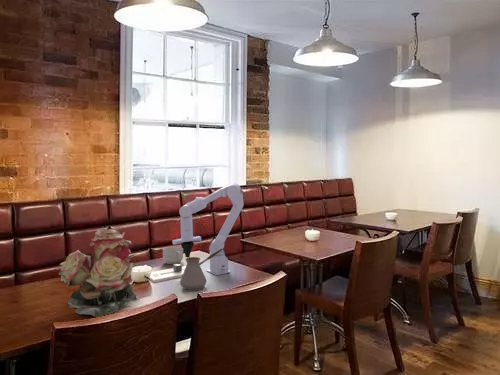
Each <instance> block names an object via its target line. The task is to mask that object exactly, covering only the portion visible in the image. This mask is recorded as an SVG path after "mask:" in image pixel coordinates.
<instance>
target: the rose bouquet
mask: <svg viewBox="0 0 500 375" xmlns="http://www.w3.org/2000/svg"><path fill="white" fill-rule="evenodd" d="M94 234H95V235H94V238H91V241H90V243H89V247H90V249H91V250H92V254H91V255H86V254H85V253H82V252H81V251H80V250H79V249H77V250H76V251H74V252H71V253H69V254H68V256H66V258H65V261H63V262H61V263H59V266H61V267H60V271H59V272H58V276H60V281H61V284H64V285H66V289H67V288H72V287H74V286H75V287H76V286H79V287H78V288H77V290H75V291H73V293H72V294H71V295H70V297H69V300H68V302H67V305H68V306H69V307H71V308H75V309H76V310H75V311H74V313H75V314H78V315H91V316H92V317H94V318H96V317H98V316H102V315H106V314H110V315H111V313H112V314H113V312H114V313H115V312H117V311H119V310H123V309H125V308H131V307H132V305H131V304H132V303H133V304H134V303H137V301H138V299H137V295H136V294H135V293H134V292H133V288H132V286H133V284H132V282H133V278H132V271H133V266H134V261H133V260H132V259H131V258H133V257H134V256H136V254H132V252H131V249H129V248H130V246H129V245H132V244H133V242H132V241H131V240H127V239H124V236H125V235H126V232H125V231H123V232H122V234H121V233H120V231H118V230H116V229H114V228H113V229H112V228H108V229H106V228H104V226H102V227H101V228H98V230H97V231H96V232H94ZM130 254H131V255H130Z"/></svg>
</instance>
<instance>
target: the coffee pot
mask: <svg viewBox="0 0 500 375" xmlns="http://www.w3.org/2000/svg"><path fill="white" fill-rule="evenodd" d="M222 250H223V251H224V252H225V250H224V249H220V250H219V251H217V252H215V253H213V254H212V255H210V254H209V256H208V257H206V258H205V259H204V260H201V258H200V257H196V256H190V257H188V258H187V257H185V260H184V261H185V262H186V265H185V266H186V268H185V270H184V273H183V276H182V277H180V281H179V283H180V286H181V287H182V288H183V289H184V290H185V291H188V292H196V291H199V290H202V289H203V288H204V287H205V286H206V284H207V281H208V280H207V278H206V276H205V273H204V272H203V270H202V268H201V265H203V264H204V263H206V262H207V261H210V258H212V257H214V256H215V255H216V254H217V253H219V252H220V251H222ZM224 252H223V253H224ZM224 254H225V253H224Z"/></svg>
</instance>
